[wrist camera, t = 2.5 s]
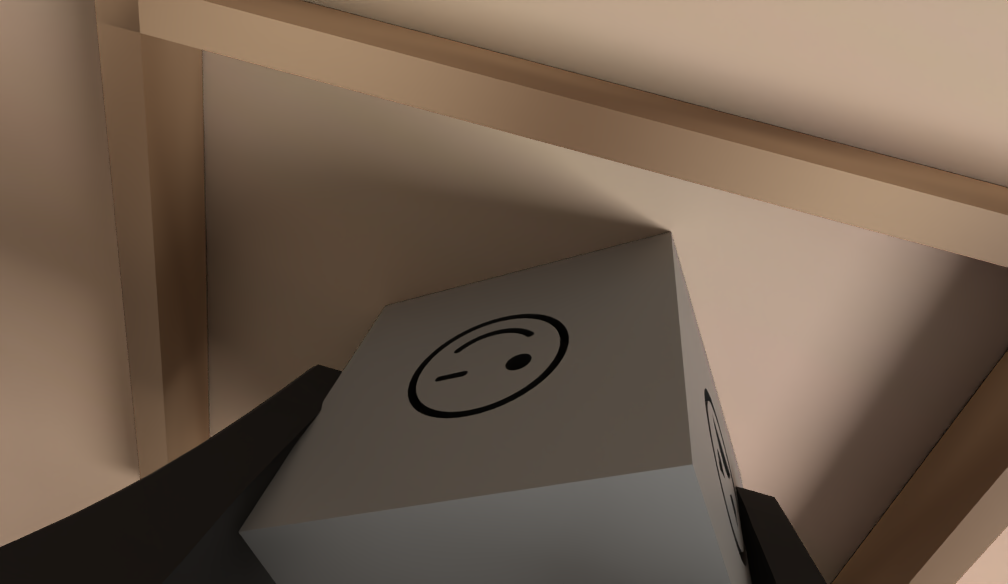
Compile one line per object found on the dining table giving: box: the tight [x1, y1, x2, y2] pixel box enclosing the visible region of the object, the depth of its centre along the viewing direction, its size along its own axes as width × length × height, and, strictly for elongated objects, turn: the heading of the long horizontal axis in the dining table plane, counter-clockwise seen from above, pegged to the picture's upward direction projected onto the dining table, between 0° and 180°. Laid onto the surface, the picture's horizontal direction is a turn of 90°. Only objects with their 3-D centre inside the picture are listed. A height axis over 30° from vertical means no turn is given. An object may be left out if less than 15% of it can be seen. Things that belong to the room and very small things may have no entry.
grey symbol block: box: [239, 232, 752, 584], centre depth 10 cm, size 5×5×5 cm
